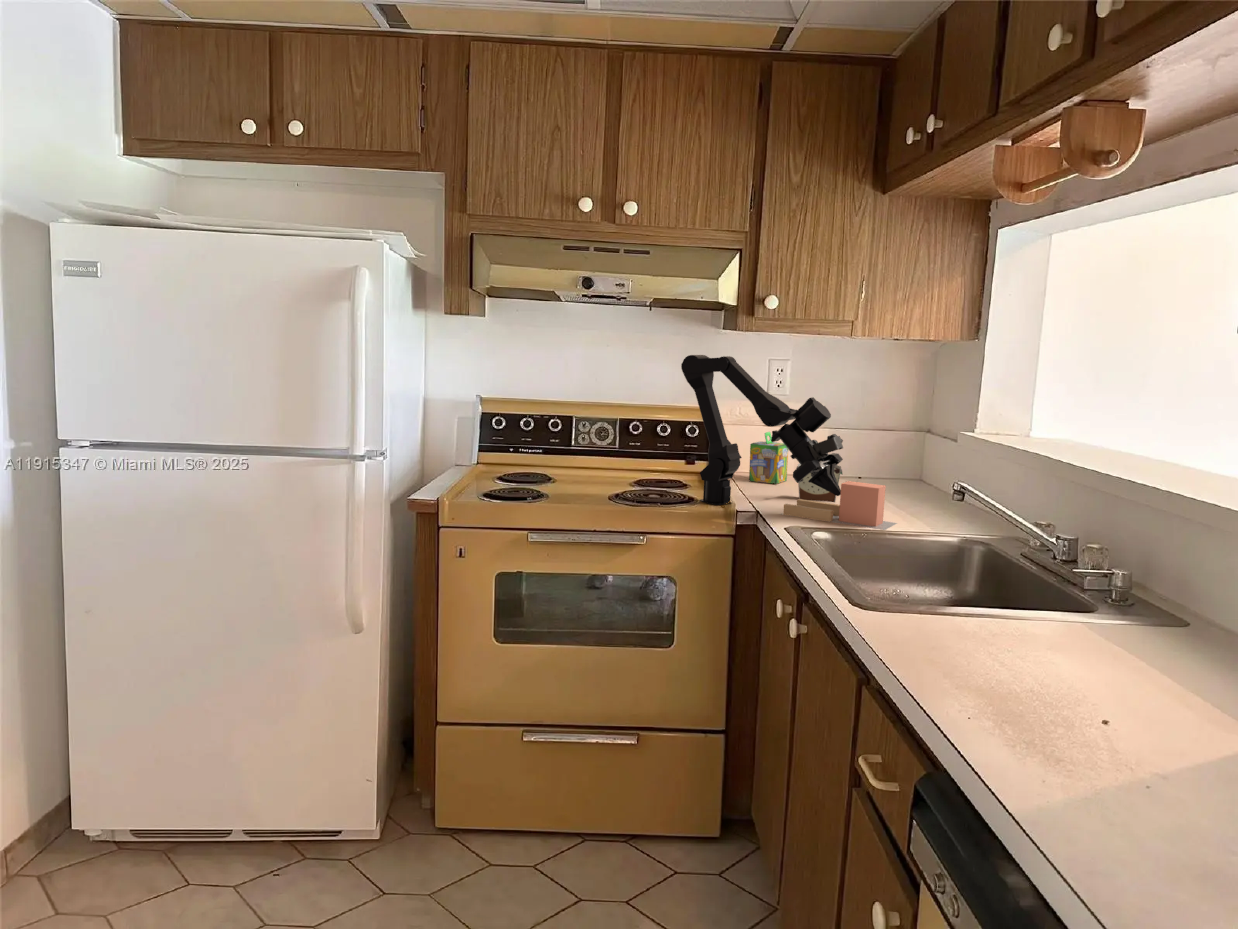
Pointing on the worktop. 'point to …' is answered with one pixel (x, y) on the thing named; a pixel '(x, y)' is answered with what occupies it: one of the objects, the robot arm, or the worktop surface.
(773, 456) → the chalk box
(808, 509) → the chute
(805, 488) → the food container
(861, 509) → the block
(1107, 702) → the worktop surface
